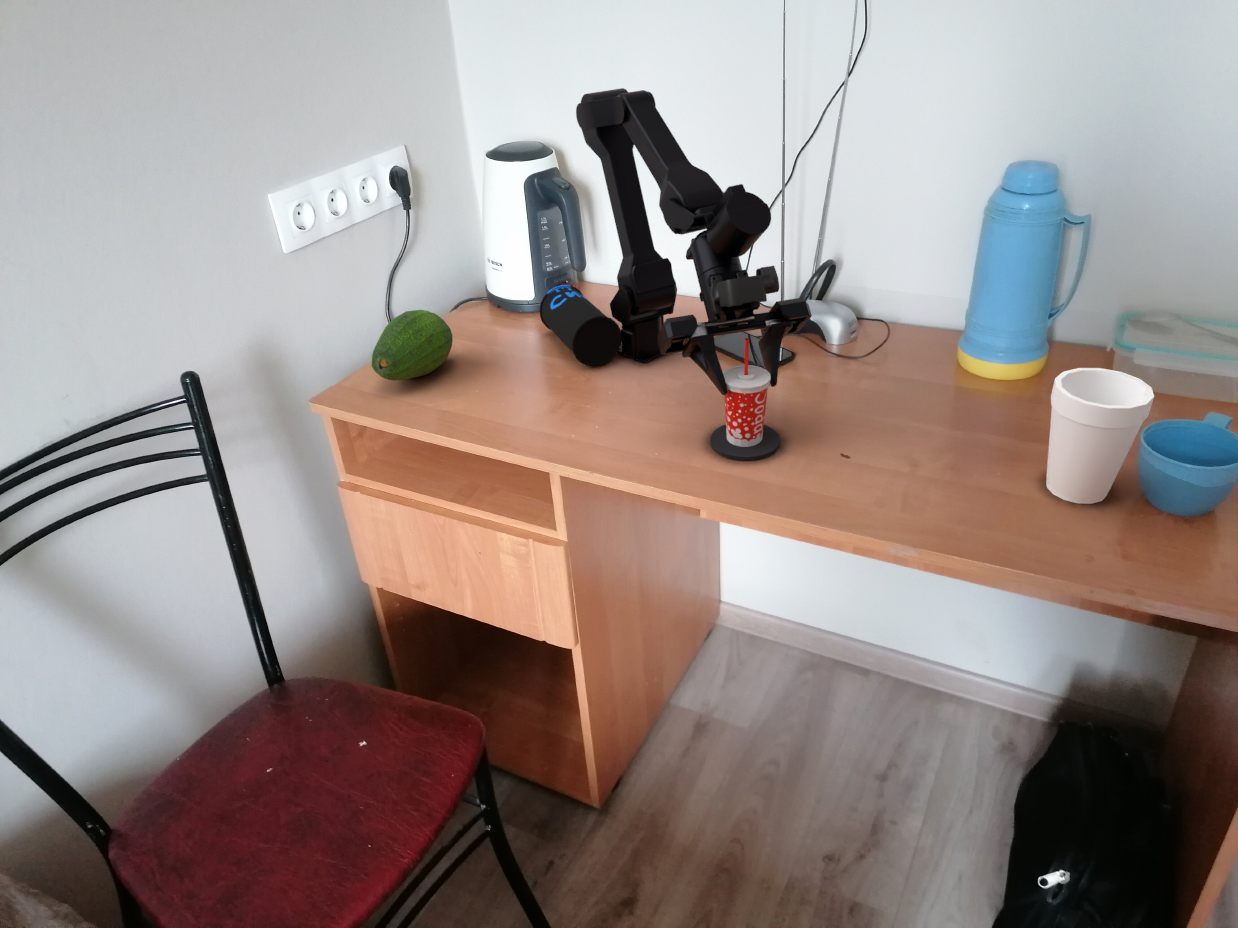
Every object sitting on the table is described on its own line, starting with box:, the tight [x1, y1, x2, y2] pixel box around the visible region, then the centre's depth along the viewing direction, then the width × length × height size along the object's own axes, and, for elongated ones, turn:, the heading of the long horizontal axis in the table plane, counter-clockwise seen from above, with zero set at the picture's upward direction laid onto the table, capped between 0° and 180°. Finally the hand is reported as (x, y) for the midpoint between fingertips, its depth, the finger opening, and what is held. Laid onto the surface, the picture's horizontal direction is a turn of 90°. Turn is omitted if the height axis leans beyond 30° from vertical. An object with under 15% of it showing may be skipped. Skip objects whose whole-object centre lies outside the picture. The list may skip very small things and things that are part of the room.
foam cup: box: [1045, 367, 1155, 505], centre depth 94 cm, size 10×9×13 cm
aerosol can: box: [539, 284, 622, 368], centre depth 138 cm, size 8×8×20 cm
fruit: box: [371, 309, 453, 381], centre depth 131 cm, size 15×10×10 cm, turn 150°
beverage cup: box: [722, 337, 771, 447], centre depth 107 cm, size 6×6×14 cm
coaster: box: [709, 424, 781, 462], centre depth 110 cm, size 9×9×1 cm
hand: (749, 390), depth 105 cm, fingers closed on beverage cup, 6 cm apart
